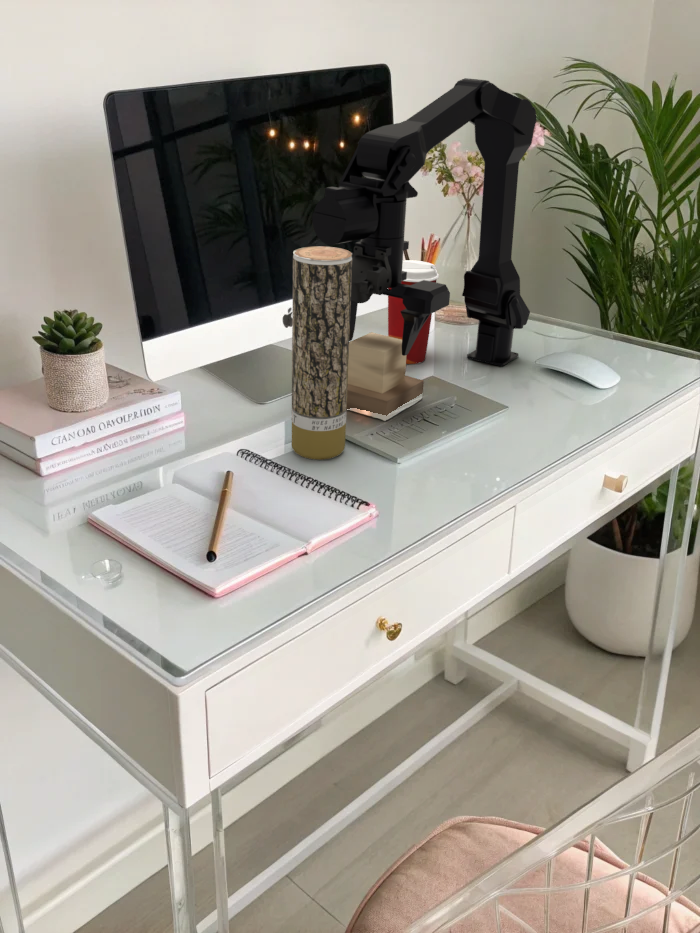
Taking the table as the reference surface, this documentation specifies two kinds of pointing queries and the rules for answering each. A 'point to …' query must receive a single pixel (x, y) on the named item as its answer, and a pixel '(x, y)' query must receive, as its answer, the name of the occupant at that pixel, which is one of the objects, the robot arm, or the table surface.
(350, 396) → the walnut base
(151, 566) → the table surface
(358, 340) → the oak cube
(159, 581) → the table surface
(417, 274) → the coffee cup
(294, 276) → the paper tube
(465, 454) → the table surface
